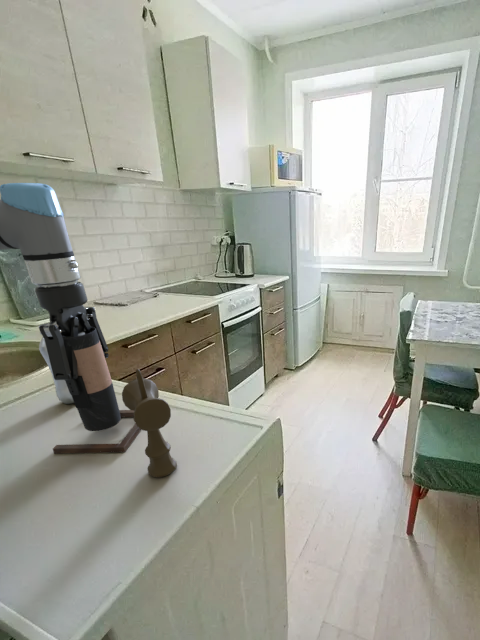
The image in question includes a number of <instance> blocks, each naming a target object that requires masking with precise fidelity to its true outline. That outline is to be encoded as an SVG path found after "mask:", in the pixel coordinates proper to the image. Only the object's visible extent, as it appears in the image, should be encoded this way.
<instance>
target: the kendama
mask: <svg viewBox="0 0 480 640" xmlns="http://www.w3.org/2000/svg"><path fill="white" fill-rule="evenodd" d="M135 375H136V379H133V380H131V381H129V382H128V383H126V385H124V386H123V389H122V392H121V398H122V399H121V400H122V402H123V405H124V407H126V408H127V409H128V410H134V417H133V421H134V424H135V423H136V425H137V426H138V427H139V428H140V429H141V431H143V432H147V433H146V434H147V446H146V447H145V449H144V454H145V456H146V457H148V459H149V464H148V465H147V474H149V475H150V476H151V477H153V478H163V477H166V476H168V475H171V474H172V473H173V472H174V471H176V470H177V467H178V463H177V460H176V459H175V458H173V457H172V456H171V453H170V451H171V448H172V447H171V444H170V443H169V442H168V441H166V440H165V438H164V437H163V434H162V432H161V430H160V429H162V428H164V427H165V426H166V425H167V424H168V423H169V422H170V418H171V415H172V413H171V412H172V411H171V410H172V409H171V407H170V405H169V403H168V402H167V401H166V400H165V399H163V398H161V397H160V398H159V396H160V395H159V394H160V393H159V388H158V386H157V384H156V383H155V382H154V381H153V380H151V379H148V378H144V377H143V375H142V372H141V370H140V369H139V368H137V369H135Z"/></svg>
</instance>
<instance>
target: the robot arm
mask: <svg viewBox="0 0 480 640" xmlns="http://www.w3.org/2000/svg"><path fill="white" fill-rule="evenodd" d="M64 216H65V215H64V211H62V208H61V205H60V203H59V199H58V196H57V193H56V191H55V189H54V188H53V187H51V185H48V184H46V183H40V182H39V183H37V182H9V183H3V184H1V185H0V251H2V250H3V251H4V250H20V253H21V255H22V258H23V261H24V265H25V267H26V270H27V273H28V276H29V279H30V282H31V284H32V285H35V286H36V287H35V289H34V292H35V295H36V298H37V299H38V303H39V307H40V308H41V309H43V310H46V311H47V312H48V314H49V315H48V316H49V322H48V324H47V323H46V324H47V325H42V324H40V325H41V326H40V325H39V326H40V327H39V326H38V329H39V333H40V332H41V334H42V335H41V334H40V335H41V336H42V337H43V338H44V340H45V344H46V348H47V352H48V356H49V360H50V364H51V368H52V372H53V376H54V379H55V380H65V381H66V384H67V387H68V390H69V393H70V394H71V395H72V398H73V401H74V403H73V404H74V407H75V409H77V408H90V407H91V406H92V405H91V402H90V399H89V396H88V393H87V390H86V387H85V384H84V381H83V378H82V376H78V368H77V359H76V356H75V353H74V350H73V347H72V345H71V346H70V347H67V348H65V346H64V342H63V338H71V337H77V336H78V334H79V333H80V332H84V333H90V332H91V331H92V328H91V327H94V328H96V330H97V333H98V337H99V340H100V343H101V347H102V350H103V353H104V357H105V359H108V358H109V355H110V354H109V346H108V344H107V342H106V339H105V336H104V333H103V332H102V329H101V325H100V323H99V321H98V318H97V313H96V312H97V311H96V308H95V307H94V306H87V307H86V306H84V305H85V304H87V303H88V296H87V292H86V289H85V287H84V283H82V282H81V281H79V280H80V279H81V278H82V276H81V274H80V271H79V265H78V262H77V260H76V257H75V254H74V253H75V252H74V251H73V246H72V243H71V240H70V237H69V233H68V229H67V225H66V221H65V217H64ZM63 336H71V337H63ZM70 371H71V372H70ZM53 376H52V377H53Z"/></svg>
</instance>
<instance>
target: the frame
mask: <svg viewBox="0 0 480 640" xmlns="http://www.w3.org/2000/svg"><path fill="white" fill-rule="evenodd" d="M119 411H120V416H121V418H134V410H130V409H119ZM141 431H142V429H140V428H139V427H138V426H137V425H136V423H135V422H134V425H132V427H131V428H130V430H129V431H128V432H127V433H126V435H125V436H124V438H122V440H121V442H119V443H116V442H115V443H80V444H79V443H78V444H74V443H73V444H56V445H55V446H54V447H53V448H52V453H54V454H55V455H56V454H59V455H61V454H97V453H98V454H99V453H100V454H101V453H102V454H103V453H104V454H105V453H107V454H108V453H126V452H127V450H128V449H129V447H130V446H131V445H132V443H133V442H134V441H135V439H136V438H137V436H138V435H139V434H140V433H141Z"/></svg>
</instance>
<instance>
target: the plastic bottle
mask: <svg viewBox="0 0 480 640" xmlns="http://www.w3.org/2000/svg"><path fill="white" fill-rule="evenodd" d="M48 323H49V322H48ZM48 323H43V324H40V325H38V328H39V327H40V326H41V325H47V324H48ZM39 334H40V335H41V336H42V334H41V332H40V331H39ZM38 344H39V345H38V349H39V352H40V354H41V356H42V357H43V359H44V361H45V363H46V365H47V367H48V369H49V371H50V374H51V377H52V380H53V384H54V389H55V395H56V397H57V399H58V400H59V402H61V403H62V404H66V405H69V404H70V405H71V404H74V401H73V398H72V395H71V394H70V393H69V390H68V387H67V384H66V381H65V380H55V379H54V376H53V372H52V368H51V364H50V360H49V356H48V352H47V348H46V344H45V340H44V338H43V336H42V337H41V340H40V341H39V343H38Z"/></svg>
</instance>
